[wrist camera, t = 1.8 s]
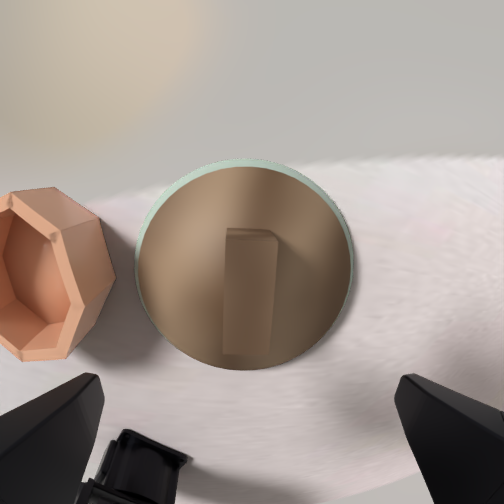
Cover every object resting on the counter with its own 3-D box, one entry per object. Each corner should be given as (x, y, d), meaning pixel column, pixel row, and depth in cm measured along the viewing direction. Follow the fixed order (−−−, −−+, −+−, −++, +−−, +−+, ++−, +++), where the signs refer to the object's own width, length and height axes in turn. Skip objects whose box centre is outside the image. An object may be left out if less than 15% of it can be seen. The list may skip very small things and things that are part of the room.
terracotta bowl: (135, 240, 18) (105, 261, 14) (84, 350, 20) (56, 387, 15) (29, 168, 17) (-16, 169, 12) (-6, 280, 18) (-43, 301, 13)
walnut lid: (355, 176, 18) (388, 176, 14) (330, 362, 21) (349, 398, 17) (141, 165, 17) (115, 161, 13) (149, 358, 20) (133, 395, 16)
